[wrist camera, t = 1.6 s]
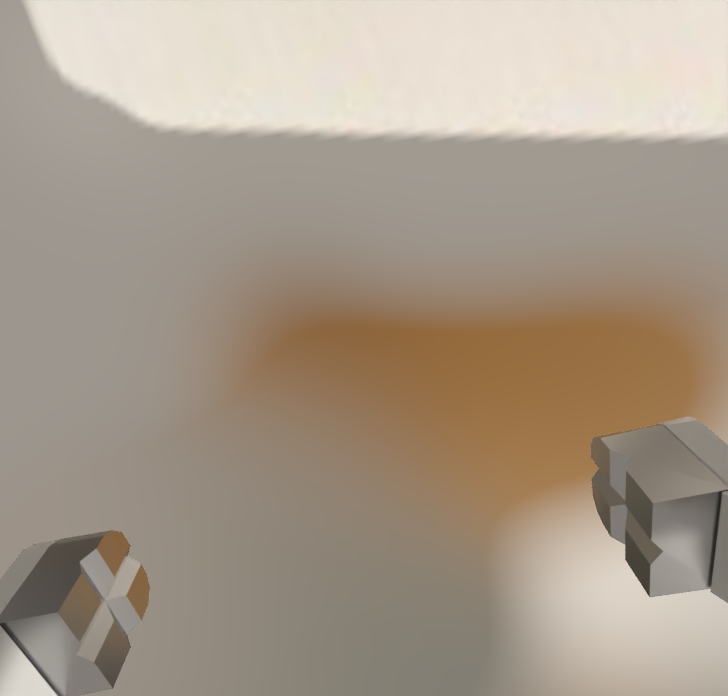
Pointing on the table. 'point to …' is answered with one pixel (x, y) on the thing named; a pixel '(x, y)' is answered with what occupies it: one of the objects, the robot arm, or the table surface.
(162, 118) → the table surface
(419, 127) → the table surface
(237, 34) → the table surface
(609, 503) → the robot arm
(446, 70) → the table surface
